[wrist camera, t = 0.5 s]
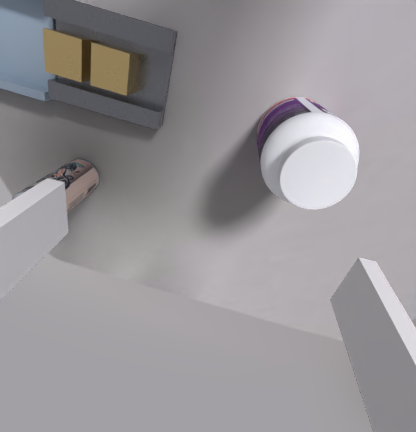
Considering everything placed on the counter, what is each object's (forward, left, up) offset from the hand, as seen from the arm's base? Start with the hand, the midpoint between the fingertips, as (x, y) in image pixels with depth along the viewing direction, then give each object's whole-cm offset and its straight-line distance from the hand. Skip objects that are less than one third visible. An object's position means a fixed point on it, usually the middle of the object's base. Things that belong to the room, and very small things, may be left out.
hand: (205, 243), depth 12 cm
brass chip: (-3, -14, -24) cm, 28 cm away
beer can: (+12, -18, -25) cm, 33 cm away
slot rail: (-3, -15, -24) cm, 29 cm away
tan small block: (-3, -19, -24) cm, 30 cm away
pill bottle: (-1, +7, -25) cm, 25 cm away
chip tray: (-3, -26, -24) cm, 36 cm away
